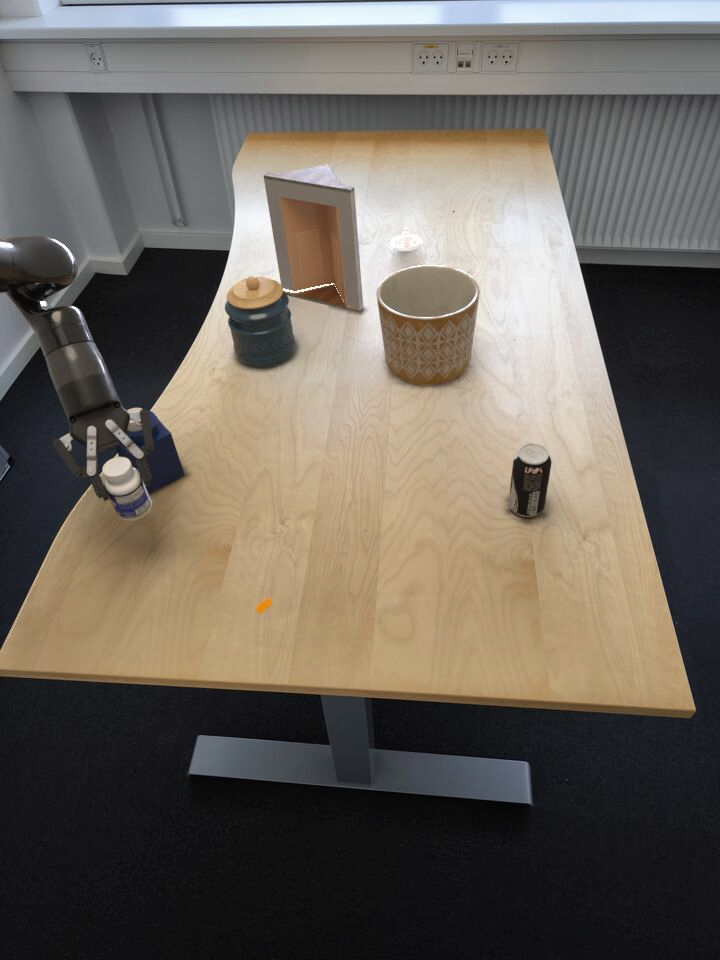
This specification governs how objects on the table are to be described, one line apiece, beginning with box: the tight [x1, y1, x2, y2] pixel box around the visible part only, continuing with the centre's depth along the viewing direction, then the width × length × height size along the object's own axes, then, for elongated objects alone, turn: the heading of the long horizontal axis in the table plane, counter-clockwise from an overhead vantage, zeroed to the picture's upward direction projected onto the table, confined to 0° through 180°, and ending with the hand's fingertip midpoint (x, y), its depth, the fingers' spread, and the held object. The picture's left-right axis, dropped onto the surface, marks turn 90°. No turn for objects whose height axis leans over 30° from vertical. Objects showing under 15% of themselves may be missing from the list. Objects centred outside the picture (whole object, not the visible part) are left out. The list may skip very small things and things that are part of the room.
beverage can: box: [508, 442, 552, 518], centre depth 115 cm, size 6×6×12 cm
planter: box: [376, 264, 481, 386], centre depth 143 cm, size 19×19×16 cm
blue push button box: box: [114, 409, 186, 495], centre depth 127 cm, size 8×8×12 cm
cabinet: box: [263, 163, 364, 314], centre depth 161 cm, size 21×10×28 cm, turn 61°
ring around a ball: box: [389, 227, 423, 253], centre depth 182 cm, size 8×6×8 cm
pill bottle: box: [102, 456, 152, 522], centre depth 106 cm, size 5×5×9 cm
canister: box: [224, 275, 296, 369], centre depth 150 cm, size 13×13×18 cm
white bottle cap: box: [126, 407, 143, 432], centre depth 122 cm, size 4×4×2 cm
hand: (127, 492), depth 104 cm, fingers closed on pill bottle, 5 cm apart
